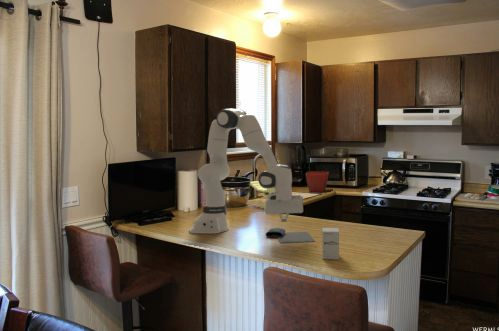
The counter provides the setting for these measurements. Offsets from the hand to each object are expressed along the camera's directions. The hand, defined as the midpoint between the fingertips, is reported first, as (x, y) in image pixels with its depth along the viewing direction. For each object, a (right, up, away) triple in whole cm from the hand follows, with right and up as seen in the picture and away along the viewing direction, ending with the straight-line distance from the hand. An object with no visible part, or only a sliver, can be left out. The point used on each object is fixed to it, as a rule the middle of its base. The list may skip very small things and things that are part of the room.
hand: (283, 221), depth 229 cm
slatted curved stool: (-3, -1, +91) cm, 91 cm away
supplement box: (+18, -12, -35) cm, 41 cm away
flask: (-5, -7, +1) cm, 9 cm away
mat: (+6, -9, +1) cm, 10 cm away
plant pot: (+43, +6, +159) cm, 165 cm away
